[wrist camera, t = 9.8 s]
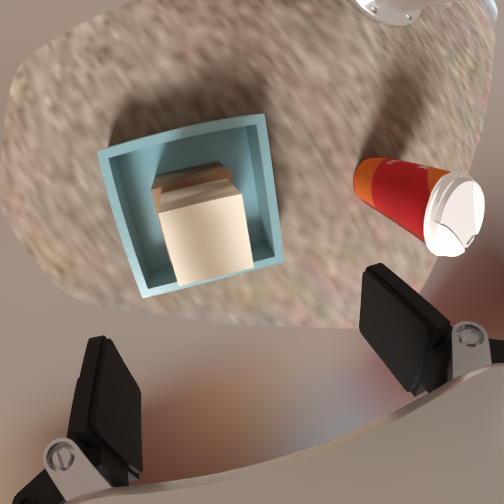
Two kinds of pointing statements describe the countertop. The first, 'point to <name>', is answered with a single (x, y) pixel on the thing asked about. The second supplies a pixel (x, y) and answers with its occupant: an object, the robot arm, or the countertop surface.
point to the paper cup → (423, 201)
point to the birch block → (205, 231)
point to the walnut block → (187, 180)
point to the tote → (179, 157)
